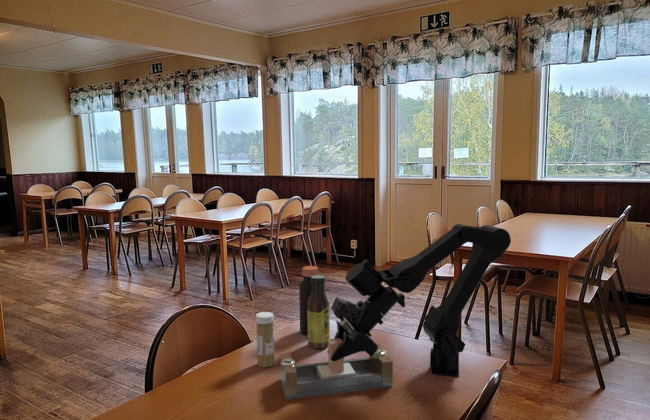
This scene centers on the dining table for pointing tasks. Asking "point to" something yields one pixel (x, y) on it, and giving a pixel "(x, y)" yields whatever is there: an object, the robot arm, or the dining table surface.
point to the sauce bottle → (318, 314)
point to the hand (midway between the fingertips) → (330, 357)
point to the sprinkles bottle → (265, 339)
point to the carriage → (334, 364)
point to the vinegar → (305, 295)
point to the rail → (308, 384)
